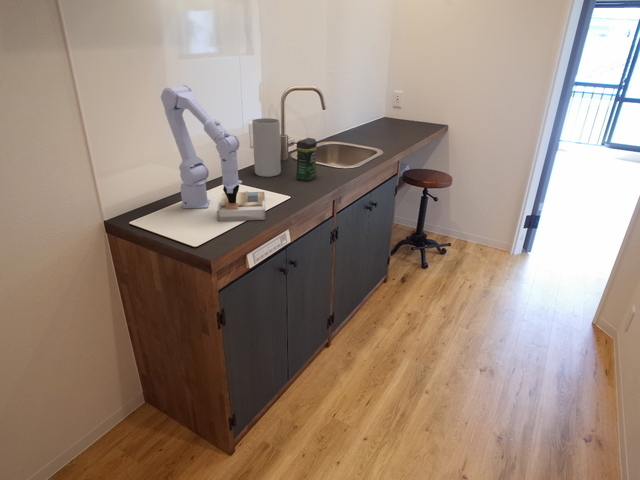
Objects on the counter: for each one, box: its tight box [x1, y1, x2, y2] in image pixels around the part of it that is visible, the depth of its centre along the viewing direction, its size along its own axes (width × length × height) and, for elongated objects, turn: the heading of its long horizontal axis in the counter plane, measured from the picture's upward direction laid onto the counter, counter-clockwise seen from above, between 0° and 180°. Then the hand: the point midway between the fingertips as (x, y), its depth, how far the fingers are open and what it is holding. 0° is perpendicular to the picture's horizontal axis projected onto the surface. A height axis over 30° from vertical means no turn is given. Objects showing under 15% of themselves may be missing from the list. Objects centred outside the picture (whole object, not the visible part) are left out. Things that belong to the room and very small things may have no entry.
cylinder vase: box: [251, 117, 282, 178], centre depth 197 cm, size 12×12×25 cm
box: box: [216, 200, 266, 222], centre depth 155 cm, size 17×9×4 cm, turn 97°
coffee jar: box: [295, 137, 318, 182], centre depth 193 cm, size 10×8×19 cm
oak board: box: [219, 191, 266, 207], centre depth 166 cm, size 17×14×2 cm
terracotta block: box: [226, 203, 238, 210], centre depth 154 cm, size 4×4×2 cm
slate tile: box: [247, 191, 259, 202], centre depth 163 cm, size 4×4×2 cm
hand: (232, 204), depth 157 cm, fingers closed
